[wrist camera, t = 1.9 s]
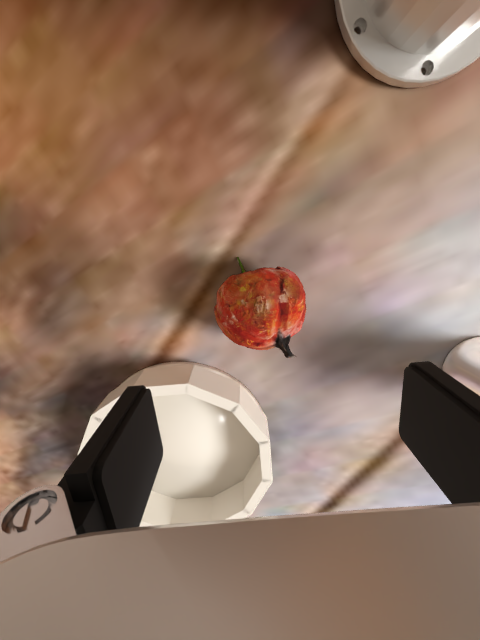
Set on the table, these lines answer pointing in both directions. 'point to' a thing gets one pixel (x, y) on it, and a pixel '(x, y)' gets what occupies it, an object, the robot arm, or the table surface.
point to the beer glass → (465, 363)
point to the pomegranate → (261, 308)
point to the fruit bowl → (201, 443)
